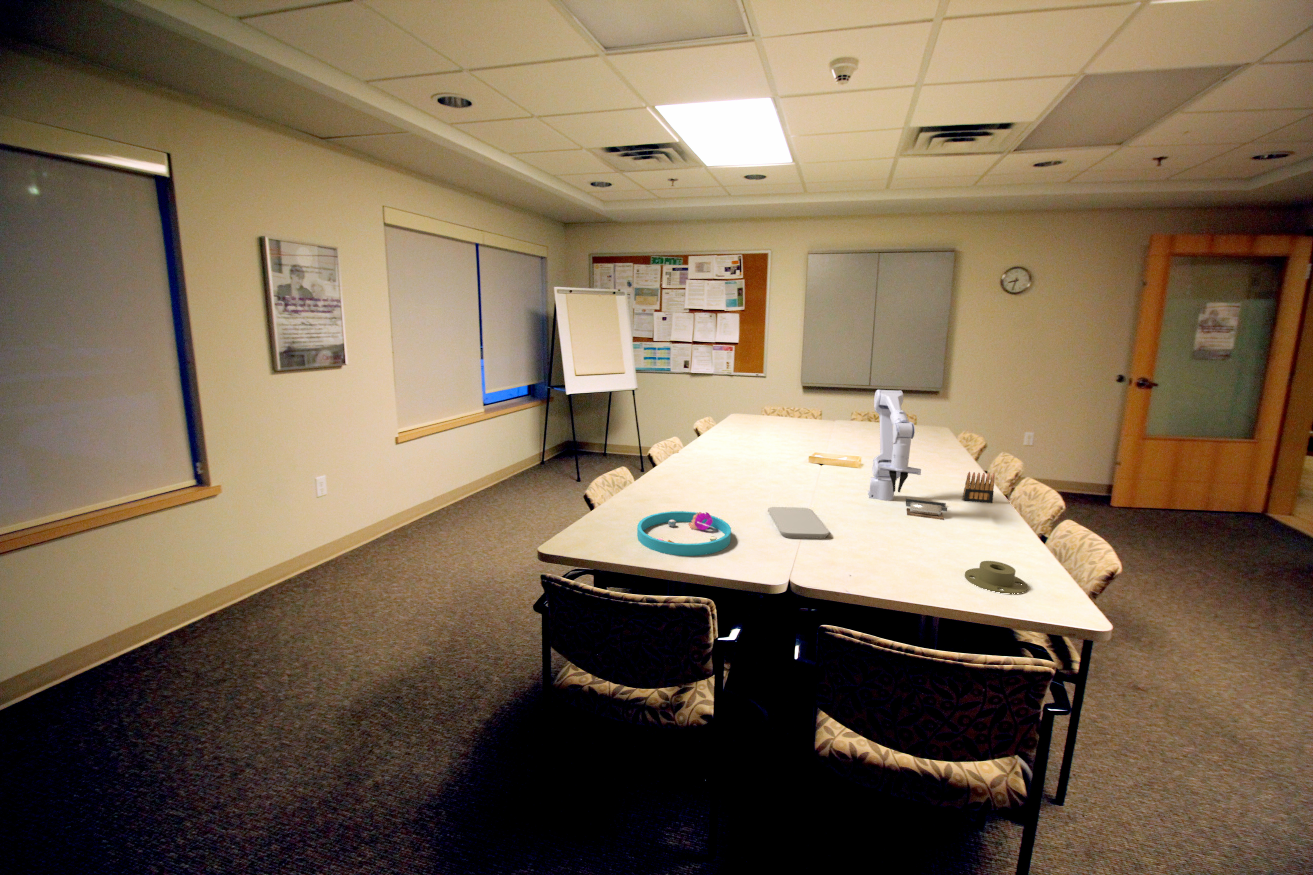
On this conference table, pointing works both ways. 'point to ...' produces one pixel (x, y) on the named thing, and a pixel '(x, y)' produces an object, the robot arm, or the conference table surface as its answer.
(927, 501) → the cradle
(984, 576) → the flange
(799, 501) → the conference table surface
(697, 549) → the teal round ring
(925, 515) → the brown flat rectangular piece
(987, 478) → the ammunition clip
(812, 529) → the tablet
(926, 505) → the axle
